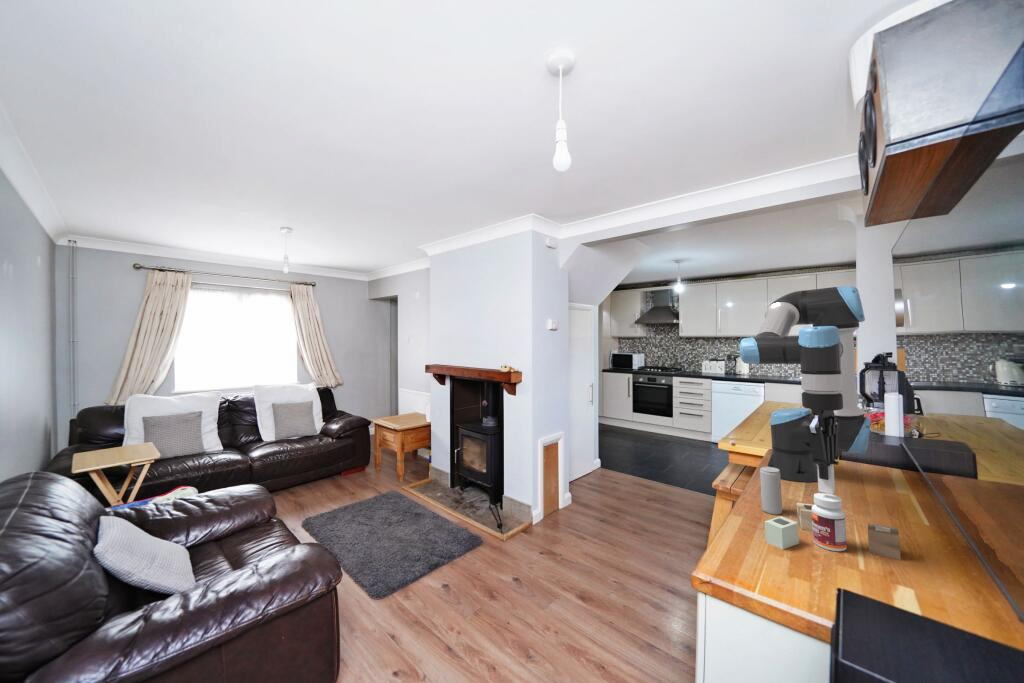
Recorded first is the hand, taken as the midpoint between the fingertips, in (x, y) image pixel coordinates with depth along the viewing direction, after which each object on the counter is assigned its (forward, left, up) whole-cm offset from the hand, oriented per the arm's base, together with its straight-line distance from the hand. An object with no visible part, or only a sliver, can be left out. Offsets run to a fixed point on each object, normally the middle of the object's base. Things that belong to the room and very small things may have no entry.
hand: (826, 492), depth 90 cm
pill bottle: (0, 0, -13) cm, 13 cm away
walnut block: (-6, +8, -13) cm, 16 cm away
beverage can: (-9, -16, -13) cm, 22 cm away
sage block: (+7, -7, -13) cm, 16 cm away
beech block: (-7, -6, -13) cm, 16 cm away
